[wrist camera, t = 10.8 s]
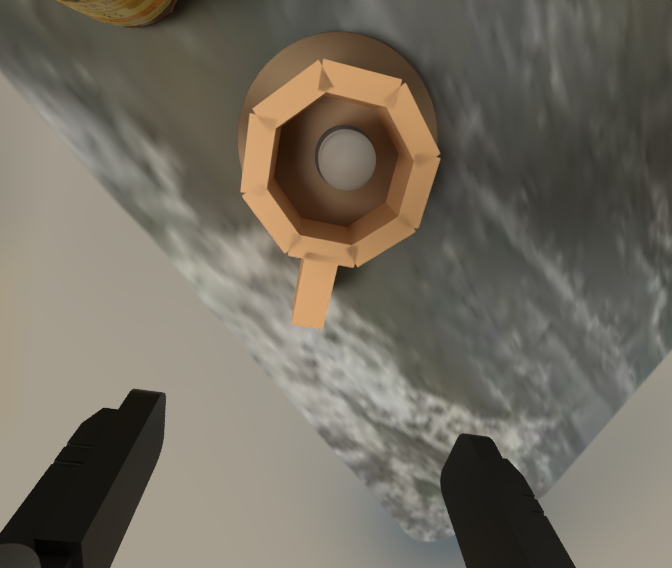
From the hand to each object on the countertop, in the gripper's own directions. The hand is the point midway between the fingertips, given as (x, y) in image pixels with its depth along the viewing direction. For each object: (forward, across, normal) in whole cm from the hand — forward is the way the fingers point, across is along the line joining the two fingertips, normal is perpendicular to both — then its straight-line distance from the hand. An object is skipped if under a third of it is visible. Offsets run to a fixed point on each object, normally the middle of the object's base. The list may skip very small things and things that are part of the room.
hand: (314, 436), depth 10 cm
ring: (+14, 0, -3) cm, 15 cm away
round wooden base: (+16, 0, -6) cm, 17 cm away
